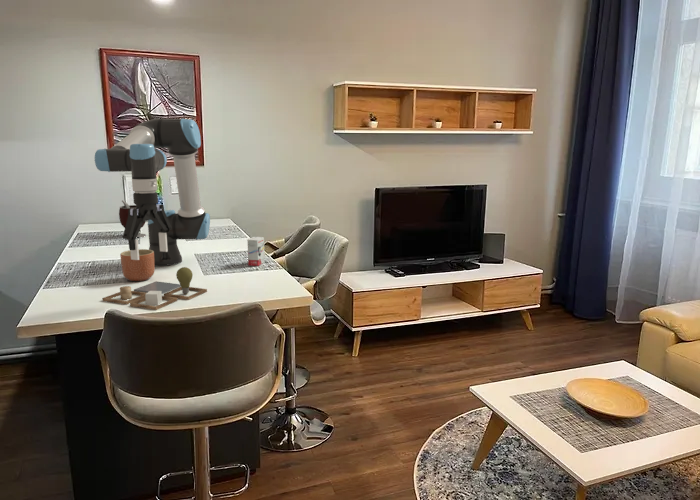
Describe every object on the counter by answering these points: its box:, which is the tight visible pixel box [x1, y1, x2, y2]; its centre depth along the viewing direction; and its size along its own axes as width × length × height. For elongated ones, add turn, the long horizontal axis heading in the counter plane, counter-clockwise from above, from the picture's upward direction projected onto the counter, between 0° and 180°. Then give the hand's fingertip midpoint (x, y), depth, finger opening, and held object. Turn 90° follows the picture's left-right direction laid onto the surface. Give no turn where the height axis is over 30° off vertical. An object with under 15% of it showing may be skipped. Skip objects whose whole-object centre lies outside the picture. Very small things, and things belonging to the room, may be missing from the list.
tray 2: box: [129, 295, 178, 311], centre depth 179 cm, size 11×11×1 cm
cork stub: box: [119, 285, 133, 301], centre depth 184 cm, size 4×4×4 cm
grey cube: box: [145, 291, 163, 306], centre depth 179 cm, size 4×4×4 cm
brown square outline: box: [163, 286, 208, 301], centre depth 190 cm, size 11×11×1 cm
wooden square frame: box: [101, 290, 146, 305], centre depth 185 cm, size 11×11×1 cm
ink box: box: [247, 236, 266, 267], centre depth 235 cm, size 9×5×12 cm, turn 168°
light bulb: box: [175, 266, 194, 295], centre depth 189 cm, size 6×6×10 cm
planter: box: [120, 248, 156, 282], centre depth 208 cm, size 12×12×11 cm
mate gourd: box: [118, 200, 147, 238], centre depth 296 cm, size 16×14×20 cm
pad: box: [133, 280, 181, 295], centre depth 197 cm, size 12×12×1 cm
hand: (150, 255), depth 176 cm, fingers open, 13 cm apart
